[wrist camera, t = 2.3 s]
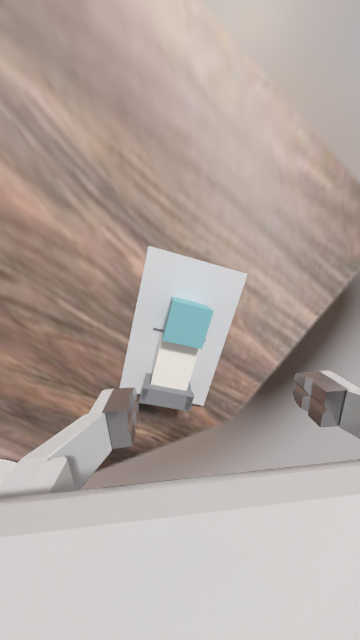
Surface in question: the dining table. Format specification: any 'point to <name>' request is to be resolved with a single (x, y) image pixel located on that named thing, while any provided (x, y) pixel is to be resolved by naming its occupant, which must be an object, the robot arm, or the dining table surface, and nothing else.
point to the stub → (187, 323)
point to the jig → (170, 358)
